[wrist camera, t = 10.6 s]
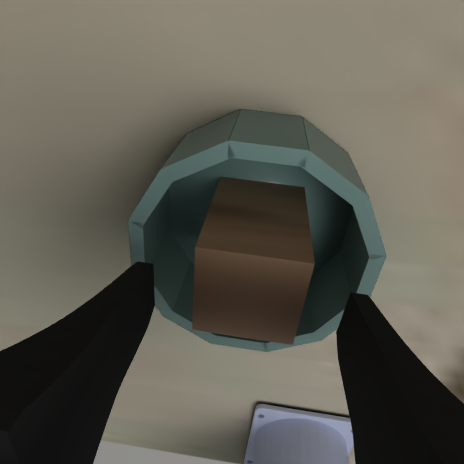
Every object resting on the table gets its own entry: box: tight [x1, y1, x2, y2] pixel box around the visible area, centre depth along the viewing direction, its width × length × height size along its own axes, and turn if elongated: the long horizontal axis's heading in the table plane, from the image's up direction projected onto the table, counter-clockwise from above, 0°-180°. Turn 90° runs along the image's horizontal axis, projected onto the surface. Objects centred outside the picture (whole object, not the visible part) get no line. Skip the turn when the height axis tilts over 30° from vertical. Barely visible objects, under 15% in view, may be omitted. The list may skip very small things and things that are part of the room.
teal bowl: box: [128, 109, 386, 352], centre depth 17 cm, size 10×10×4 cm
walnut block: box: [192, 176, 315, 345], centre depth 15 cm, size 4×4×6 cm
